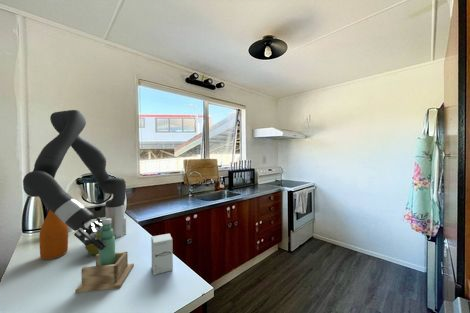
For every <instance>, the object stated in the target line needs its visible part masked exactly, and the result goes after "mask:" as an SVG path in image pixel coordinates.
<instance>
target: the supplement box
mask: <svg viewBox="0 0 470 313" xmlns="http://www.w3.org/2000/svg"><path fill="white" fill-rule="evenodd" d="M173 244H174V243H173V237H172V236H171V233H165V234H159V235H153V236H151V269H152V275H153V276H156V275H160V274H162V273H167V272H171V270H172V271H173V270H174V267H173V266H174V265H173V264H174V262H173V261H174V260H173V254H174V253H173V252H174V251H173V248H174V247H173Z"/></svg>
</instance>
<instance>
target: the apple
mask: <svg viewBox="0 0 470 313" xmlns="http://www.w3.org/2000/svg"><path fill="white" fill-rule="evenodd" d="M96 235H97V238H98V239H99V238H100V233H97V234H96ZM98 239H97V240H98ZM85 240H86V239H85ZM86 241H88V240H86ZM84 247H85V250H86V251H87V253H88V254H89V255H93V256H96V255H97V254H99V249H98V248H97V247H96V246H94V245H93V244H92V245H91V244H89V245H88V246H86V245H85V244H84Z"/></svg>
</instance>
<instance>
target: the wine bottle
mask: <svg viewBox="0 0 470 313" xmlns="http://www.w3.org/2000/svg"><path fill="white" fill-rule="evenodd" d="M38 239H39V242H38V244H39V255H40V256H39V257H40V259H42V260H53V259H57V258H60V257H62V256H64V255H65V254H67V252H68V250H69V235H68V227H67V224H65V223H64V222H63V221H62V220H60V219H59V218H58V217H57V216H56V215H55V213H53V212H52V211H51V210H49V209H48V212H47V215H46V216H45V219H44V221H43V223H42V224H41V227H40V231H39V238H38Z"/></svg>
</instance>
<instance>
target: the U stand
mask: <svg viewBox="0 0 470 313" xmlns="http://www.w3.org/2000/svg"><path fill="white" fill-rule="evenodd" d="M128 256H129V255H128V251H119V252H116V251H115V264H112V265H101V266H99V254H97V255H95V265H92V266H83V267H81V283H80V284H79V285H78V286H77V287H76V288H75V289H74V290H75V291H74V292H75V294H77V293H85V292H86V293H87V292H94V291H95V292H96V291H103V290H105V291H106V290H112V289H113V290H114V289H120V288H122V286H123V284H124V283H125V281H126V279H127V278H128V277H129V275H130V274H131V271H132V270H133V268H134V266H135V263H129V262H128V258H129V257H128Z"/></svg>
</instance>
